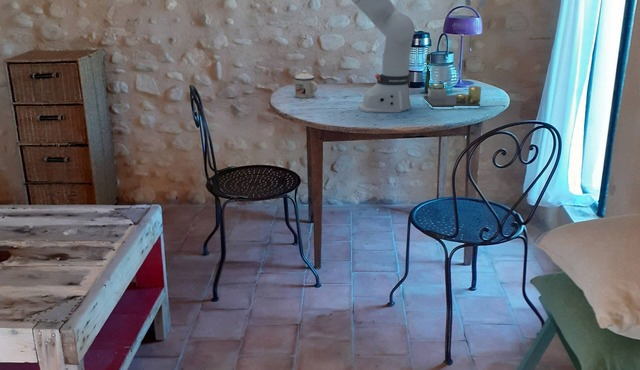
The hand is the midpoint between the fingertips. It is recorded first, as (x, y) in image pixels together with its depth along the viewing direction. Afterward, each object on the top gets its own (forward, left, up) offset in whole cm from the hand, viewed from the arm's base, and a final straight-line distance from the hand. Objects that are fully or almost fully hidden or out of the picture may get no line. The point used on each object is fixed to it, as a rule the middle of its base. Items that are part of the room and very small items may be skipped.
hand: (474, 6), depth 264 cm
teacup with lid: (-67, +26, -41) cm, 83 cm away
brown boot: (0, 0, -39) cm, 39 cm away
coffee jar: (-7, +29, -41) cm, 51 cm away
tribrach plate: (-6, +4, -41) cm, 42 cm away
